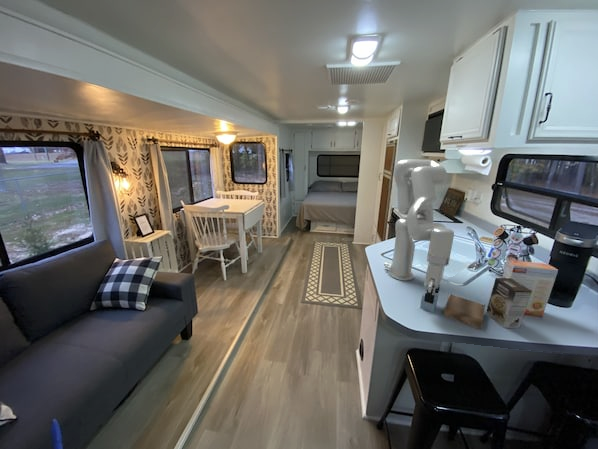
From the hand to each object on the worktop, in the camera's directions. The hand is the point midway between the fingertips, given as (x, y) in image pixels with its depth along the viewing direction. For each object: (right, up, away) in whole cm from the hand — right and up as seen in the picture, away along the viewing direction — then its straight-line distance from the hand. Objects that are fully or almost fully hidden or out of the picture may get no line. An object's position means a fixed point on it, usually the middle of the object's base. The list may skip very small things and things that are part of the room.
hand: (431, 297), depth 97 cm
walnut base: (+12, -6, -2) cm, 14 cm away
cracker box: (+37, -6, +2) cm, 37 cm away
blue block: (0, -5, +2) cm, 6 cm away
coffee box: (+25, -8, -5) cm, 26 cm away
